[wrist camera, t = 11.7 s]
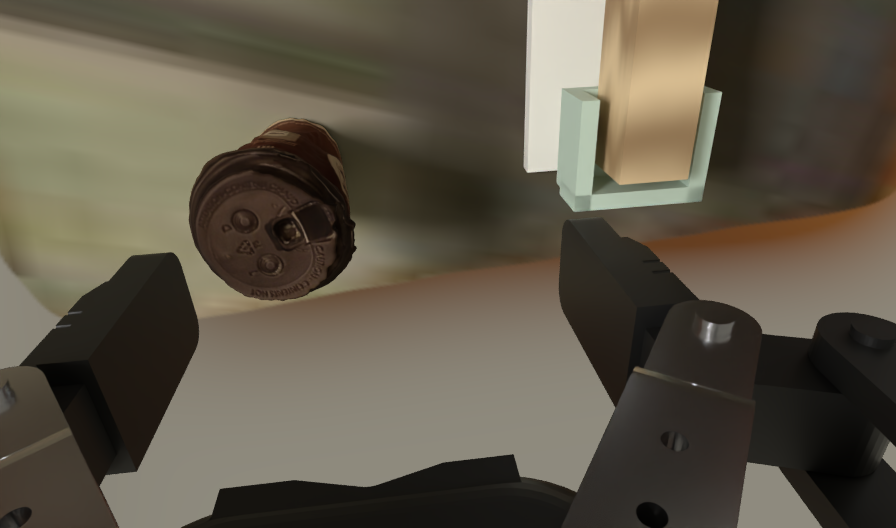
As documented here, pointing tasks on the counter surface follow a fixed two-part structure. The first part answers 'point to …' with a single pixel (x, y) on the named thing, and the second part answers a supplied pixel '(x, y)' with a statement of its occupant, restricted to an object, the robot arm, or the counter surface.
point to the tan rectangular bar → (651, 87)
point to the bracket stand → (589, 112)
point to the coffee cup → (275, 213)
